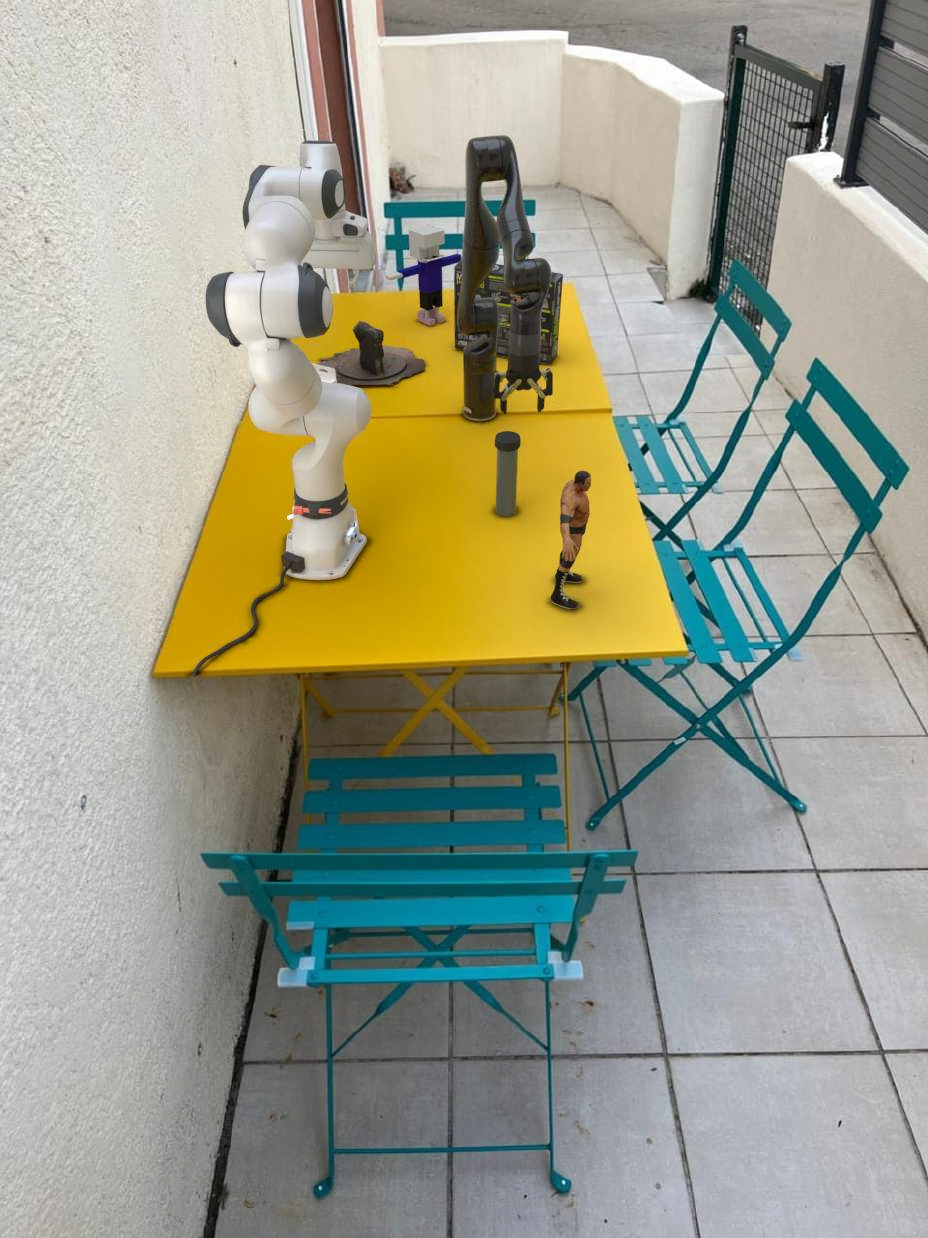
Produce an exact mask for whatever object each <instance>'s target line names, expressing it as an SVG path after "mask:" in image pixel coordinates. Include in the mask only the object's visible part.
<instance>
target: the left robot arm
mask: <svg viewBox="0 0 928 1238" xmlns="http://www.w3.org/2000/svg"><path fill="white" fill-rule="evenodd" d="M343 175H344V174H343V169H342V163H341V158H340V153H339V149H338V146H337V143H335V142H334V141H332V140H316V139H315V140H304V141H302V142H301V143H300V144H299V166H276V165H269V164H259V165H258V166H257V167H256V168H254V169H253V171H252V173H251V174H250V176H249V180H248V190H247V193H246V195H245V198H244V201H243V204H242V209H241V210H242V211H241V212H242V213H241V214H242V222H243V227H244V235H243V238H242V248H243V249H242V251H243V254H244V257H245V259H246V261H247V262H248V264H249V265H250V266H251V267H252V268H253V269H254V271H241V272H235V271H225V272H221V273H218V274H215V275H213V276H211V278H210V280H208V283H207V286H206V289H205V309H206V314H207V317H208V320H209V323H210V324H211V326H212V327H213V329H215V331H217V333H218V334H219V335H221V336H223V337H224V338H225V339H227V340H228V342H229V345H230V346H232V347H234V348H238V347H240V346H241V345H242V346H244V347H245V349H246V352H247V367H248V371H249V374H250V376H251V380H252V381H253V384H254V385H255V387H254V388H253V389H252V392H251V393H250V395H249V398H248V404H247V408H248V409H247V411H248V415H249V417H250V420H251V422H252V424H253V425H254V426H255V427H256V429H258V430H259V431H262V432H266V433H271V434H276V435H279V436H299V437H301V436H302V437H312V438H314V440H312V441H311V442H309V443H306V444H305V445H303V446H301V447H300V448H299V449H298V450H297V451H295V453H294V455H293V457H292V460H291V471H292V477H293V483H294V489H293V504H294V505H293V506H292V508H291V510H292V514H290V515H287V520H291V519H292V523H291V524H292V526H291V527H290V530H289V532H288V533H287V535H286V543H285V551H284V552H283V553H282V554H280V558H281V564H282V567H284V568H283V570H282V571H281V573H280V578H279V584H278V585H277V586H276V587H274V589H272V590H270V591H268V592H265V593H263V594H261V595H259V596H257V597H256V598H254V600H253V601H252V603H251V606H250V614H251V617H252V618H253V625H252V626H251V628H250V630H249V631H247V632H246V633H245V634H243V635H242V636H241V635H240V636H239V637H238V638H235V639H233V640H232V641H230V642H228V643H226V644H225V645H223V646H222V647H220V648H219V649H217V650H215V651H213V652H211V653H209V654H208V655H206V656H204V657H203V658H202V659H200V660H199V661H198V663H197V664H196V665H195V667H194V669H193V671H192V674H191V677H192V678H194V677H196V676H197V675H198V672H199V670H200V669H201V667H202V666H203V665H204V664H205V663H206V662H208V661H209V660H211V659H212V658H214V657H216V656H218V655H219V654H221V653H223V652H224V651H226V650H227V649H229V648H231V647H232V646H234V645H237V644H238V643H240V642H243V641H244V640H246V639H247V638H249V637H250V636H251V635H252V634H253V633H254V632H255V631H256V630H257V628H258V623H259V620H258V616H257V613H256V605H257V604H258V603H259V602H260V601H261V600H262V599H265V598H267V597H269V596H271V595H274V594H275V593H277V592H278V591H280V589H282V587H283V586H284V584H285V576H286V575H287V576H289V577H292V578H295V579H300V580H310V581H330V580H337V579H340V578H343V577H345V576H346V575H347V573H348V572H349V571H350V569H351V567H352V566H353V564H354V563H355V561H356V559H357V558H358V557H359V556H360V553H361V552H362V551H363V549H364V548H365V546H366V544H367V542H368V539H367V536H366V535H365V534H363V533H361V532H360V527H359V520H358V514H357V510H356V508H354V506H352V505H351V503H350V502H349V489H348V486H347V483H346V482H345V472H344V470H345V469H344V466H345V465H344V463H345V462H344V461H345V460H344V459H345V454H346V451H347V449H348V447H349V445H350V444H351V442H352V441H353V440H354V439H356V438H357V437H358V436H360V435H361V434H362V433H364V432H365V430H366V429H367V428H368V427H369V424H370V422H371V418H372V402H371V400H370V398H369V397H368V395H367V393H366V391H365V390H364V389H363V388H361V387H357V386H355V385H346V384H341V383H322V382H321V378H320V376H319V374H318V372H317V371H316V369H315V368H314V366H313V365H312V362H311V360H310V358H309V357H308V355H307V354H306V353H305V352H304V351H303V350H302V349H301V348H300V347H299V346H298V344H296V343H295V342H293V340H292V339H296V338H297V339H298V338H305V339H312V338H316V337H317V338H318V337H322V336H324V335H325V334H326V333H327V332H328V330H329V329H330V327H331V324H332V319H333V315H334V300H333V296H332V294H331V289H330V287H329V285H328V283H327V281H326V280H325V279H324V278H323V277H322V275H321V274H319V273H318V272H316V271H315V270H314V269H325V270H326V269H329V270H330V269H331V270H334V269H335V270H352V275H354V277H353V278H349V279H348V285H349V289H352V290H357V288H358V278H359V276H360V274H361V271H362V270H368V271H369V270H372V269H373V268H374V266H375V265H376V262H377V255H376V248H375V247H376V246H375V244H374V243H375V242H374V239H373V236H372V234H371V233H370V231H368V228H369V220H368V219H367V218H366V217H364V216H362V215H359V214H356V213H352V212H350V211H348V210H346V203H345V201H346V190H345V181H344V178H343V177H344V176H343Z"/></svg>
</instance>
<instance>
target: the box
mask: <svg viewBox="0 0 928 1238" xmlns="http://www.w3.org/2000/svg"><path fill="white" fill-rule="evenodd" d="M453 270H454V272H453V298H454V299H453V302H454V303H453V304H454V311H453V312H454V314H453V315H454V317H453V318H454V321H453V322H454V324H453V326H454V349H457V350H462V351H463V350H464V347H465V346H466V345H467V344H468V343H470V342H472V341H474V340H476V339H477V338H479V337H480V336H481V335H473V336H465V335H462V334H461V333H460V331H459V329H458V324H457V310H458V301H459V294H460V287H461V278H462V260H461V261H460V262H459V263H456V264H454V266H453ZM503 273H504V264H499V263H496V265H495V266H494V268H493V269H492V271H491V272H490V273H489V275H488V276H487V277H486V279H485V280H484V281H483V282H482V284H481V285H480V287H479V288H478V290H477V293H476V295H475V299H477V298H494V299H495V300H496V302H497V304H498V308H499V327H498V342H497V357H502V358H506V359H508V339H509V332H510V310H511V306H512V305H513V304H514V303H515V302H518V301H520V300H523V299H525V298H526V297H527V296H528V295H529V293H525V294H511V293H510V292H508V291H507V289H506V288H505V286H504V282H503ZM551 274H552V276H551V283H550V286H549V289H548V292H547V295H546V298H545V301H544V305H543V308H542V312H541V328H540V333H541V350H540V364H544V365H551V364H552V363H553V361H554V360H555V359H556V358H557V356H558V349H559V335H560V321H561V305H562V304H561V303H562V293H563V292H562V291H563V281H564V280H563V279H564V274H563V273H560V272H555V271H551Z"/></svg>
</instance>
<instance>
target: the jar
mask: <svg viewBox="0 0 928 1238" xmlns="http://www.w3.org/2000/svg"><path fill="white" fill-rule="evenodd" d="M518 460H519V449H518V450H516V451H512V452H504V451H500V450H498V449H497V448H496V467H495V468H496V469H495V470H496V473H495V513H496V515H498V516H500V517H511V516H514V515H515V514H516V511H517V488H518V487H517V486H518V463H519V462H518Z"/></svg>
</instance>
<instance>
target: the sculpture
mask: <svg viewBox="0 0 928 1238" xmlns="http://www.w3.org/2000/svg"><path fill="white" fill-rule="evenodd" d="M352 332H353V335H354V337H355V338H356V340H357V342H358V347H357V348H350V349H349V350H345V351H343V352H335V353H333V356H332V357H329V358H320V361H321V362H317V363H316V364H317V365H322V366H326V367H330V368H334V369H335V372H336V379H337V383H341V384H346V385H350V386H355V385H358V386H359V385H360V386H362V385H363V386H371V385H372V386H376V385H378V386H379V385H388V386H391V385H392V386H394V387H396V386H395V385H394V384H395V383H399V382H400V380H401V379H403V378H407V377H411V376H412V375H414V374H416V373H417V374H418V373H420V372H422V371H424V370H426V362H425V360H424V359H423V358H417V357H416V356H415V355H414V352H413V351H412V350H409V349H408V348H404V347H396V346H389V345H387V346H386V345H383V342H384V337H385V336H384V335H385V333H384V331H383V330H382V329H381V328H376V327H374V326H373V325H371V324H369V323H368V322H366V321H363V320H358V322H357V324H355V326H353V329H352ZM319 370H320V371H323V372H327V373H328V371H327V370H324V369H319ZM393 383H394V384H393Z"/></svg>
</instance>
